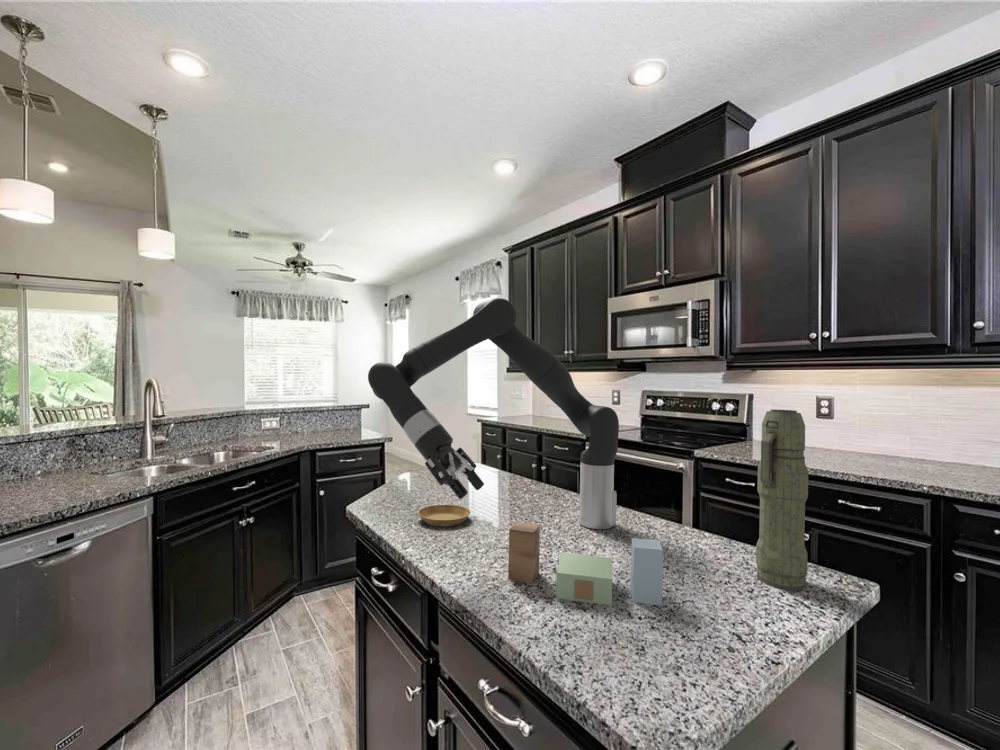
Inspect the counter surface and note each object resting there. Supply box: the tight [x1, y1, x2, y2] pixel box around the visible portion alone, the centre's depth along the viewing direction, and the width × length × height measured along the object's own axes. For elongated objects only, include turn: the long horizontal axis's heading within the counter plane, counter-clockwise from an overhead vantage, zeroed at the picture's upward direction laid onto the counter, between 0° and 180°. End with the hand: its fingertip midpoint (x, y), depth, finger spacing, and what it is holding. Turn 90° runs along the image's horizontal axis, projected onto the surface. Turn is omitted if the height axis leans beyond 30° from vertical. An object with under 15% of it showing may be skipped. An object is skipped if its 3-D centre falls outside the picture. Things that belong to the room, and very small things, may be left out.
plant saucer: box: [417, 504, 471, 527], centre depth 128 cm, size 15×15×3 cm
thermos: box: [755, 409, 809, 591], centre depth 93 cm, size 9×12×35 cm
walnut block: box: [507, 521, 541, 584], centre depth 92 cm, size 5×5×10 cm
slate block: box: [630, 537, 664, 606], centre depth 84 cm, size 5×5×10 cm
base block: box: [555, 552, 613, 606], centre depth 87 cm, size 10×10×5 cm
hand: (473, 491), depth 97 cm, fingers open, 8 cm apart
